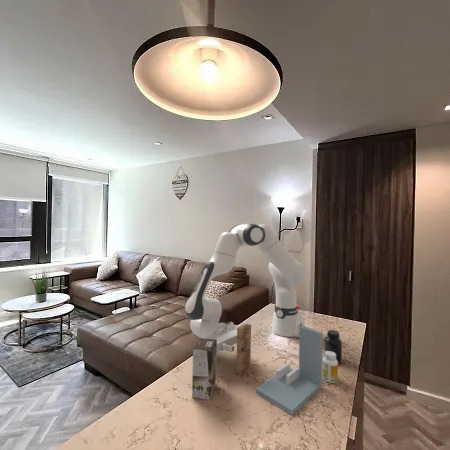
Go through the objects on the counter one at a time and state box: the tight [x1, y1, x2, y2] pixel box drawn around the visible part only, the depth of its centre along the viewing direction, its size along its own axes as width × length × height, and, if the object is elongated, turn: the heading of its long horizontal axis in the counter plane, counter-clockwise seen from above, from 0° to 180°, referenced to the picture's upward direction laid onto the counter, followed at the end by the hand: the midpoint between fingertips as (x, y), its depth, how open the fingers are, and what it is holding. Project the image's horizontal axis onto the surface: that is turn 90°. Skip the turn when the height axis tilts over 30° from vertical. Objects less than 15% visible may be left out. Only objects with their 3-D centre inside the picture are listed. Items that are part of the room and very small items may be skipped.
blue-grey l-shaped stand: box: [255, 326, 324, 416], centre depth 88 cm, size 20×14×20 cm
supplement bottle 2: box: [322, 350, 339, 384], centre depth 95 cm, size 5×5×10 cm
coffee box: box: [191, 337, 217, 401], centre depth 87 cm, size 9×6×16 cm
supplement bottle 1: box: [324, 329, 343, 364], centre depth 109 cm, size 7×7×12 cm
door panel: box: [235, 323, 252, 377], centre depth 98 cm, size 6×3×18 cm, turn 134°
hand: (241, 345), depth 99 cm, fingers open, 8 cm apart
